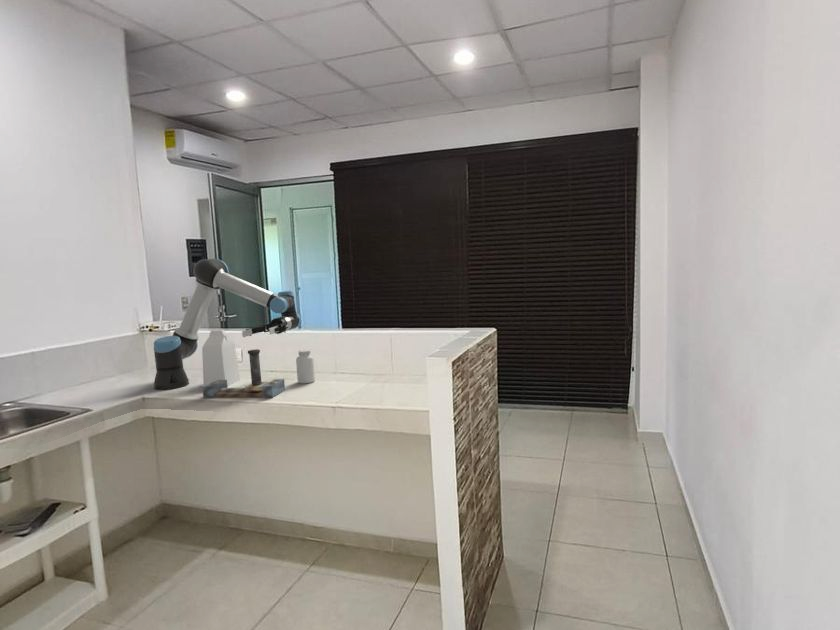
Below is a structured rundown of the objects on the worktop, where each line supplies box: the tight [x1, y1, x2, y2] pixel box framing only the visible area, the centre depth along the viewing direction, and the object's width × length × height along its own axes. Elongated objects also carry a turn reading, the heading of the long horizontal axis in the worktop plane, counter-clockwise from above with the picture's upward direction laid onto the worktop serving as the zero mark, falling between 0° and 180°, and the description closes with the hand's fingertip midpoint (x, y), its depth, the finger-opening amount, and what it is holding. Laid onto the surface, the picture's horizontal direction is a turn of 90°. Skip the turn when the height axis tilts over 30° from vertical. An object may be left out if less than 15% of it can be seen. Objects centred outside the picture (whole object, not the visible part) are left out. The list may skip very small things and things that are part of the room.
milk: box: [201, 329, 241, 387], centre depth 242 cm, size 12×12×26 cm
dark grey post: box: [244, 349, 270, 391], centre depth 219 cm, size 7×8×17 cm
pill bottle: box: [295, 349, 316, 384], centre depth 238 cm, size 8×8×15 cm
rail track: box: [202, 378, 286, 399], centre depth 221 cm, size 32×12×6 cm, turn 81°
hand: (256, 332), depth 225 cm, fingers open, 13 cm apart
